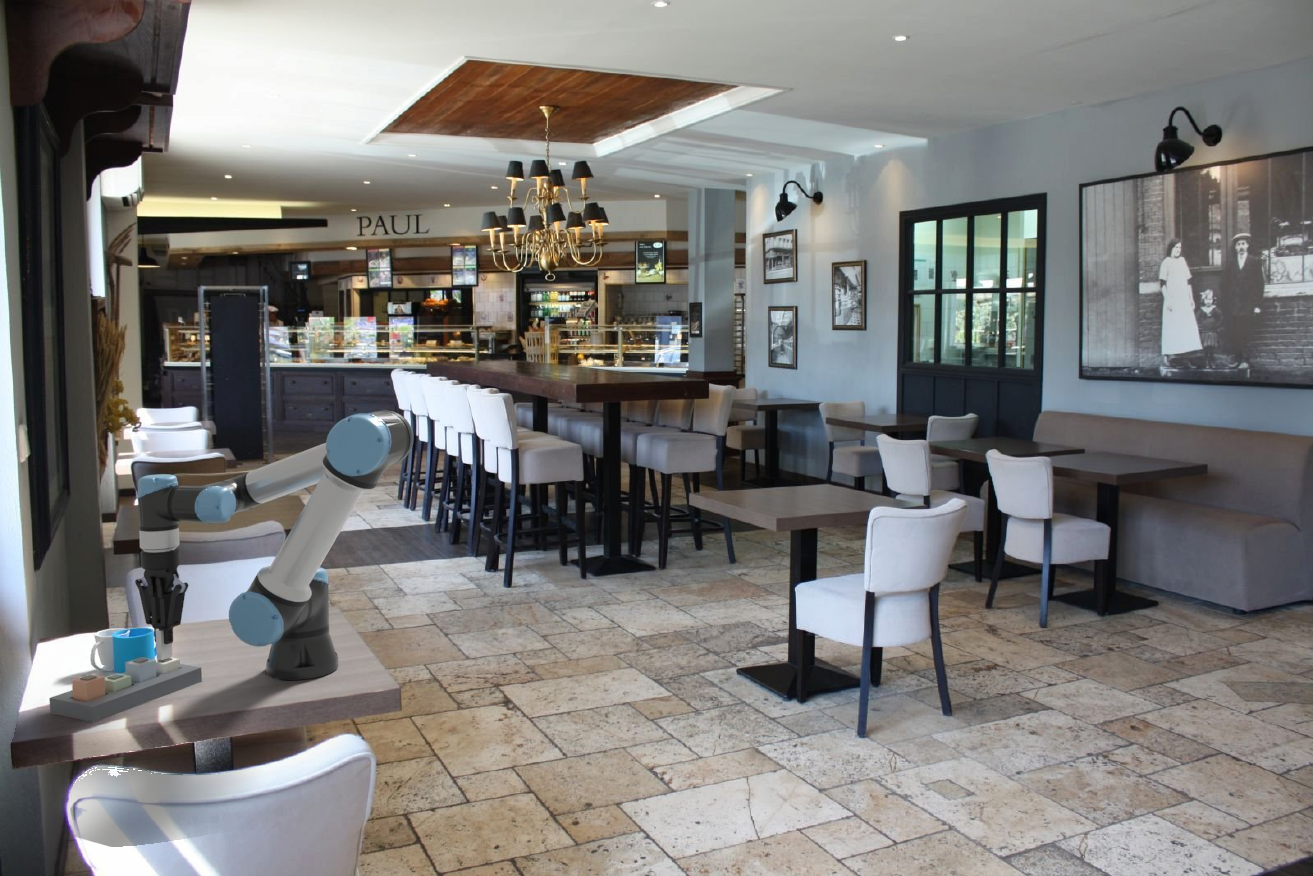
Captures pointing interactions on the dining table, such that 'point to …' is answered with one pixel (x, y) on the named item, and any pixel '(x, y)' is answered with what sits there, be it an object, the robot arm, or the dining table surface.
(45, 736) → the dining table surface
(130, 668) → the key blue
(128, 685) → the pale green square block
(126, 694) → the grey board
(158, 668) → the key ivory
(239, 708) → the dining table surface
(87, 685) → the orange hollow cube
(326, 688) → the dining table surface
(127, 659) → the mug
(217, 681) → the dining table surface
